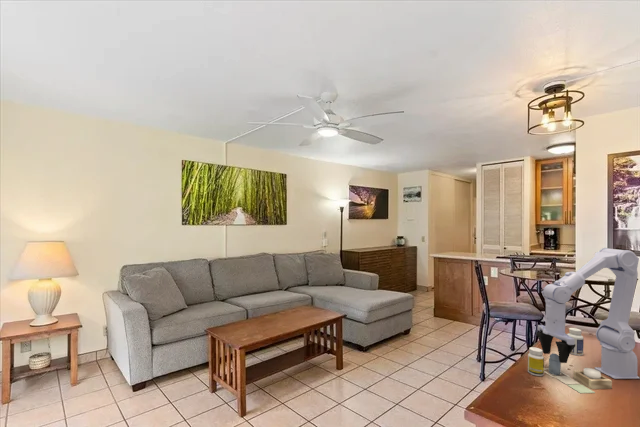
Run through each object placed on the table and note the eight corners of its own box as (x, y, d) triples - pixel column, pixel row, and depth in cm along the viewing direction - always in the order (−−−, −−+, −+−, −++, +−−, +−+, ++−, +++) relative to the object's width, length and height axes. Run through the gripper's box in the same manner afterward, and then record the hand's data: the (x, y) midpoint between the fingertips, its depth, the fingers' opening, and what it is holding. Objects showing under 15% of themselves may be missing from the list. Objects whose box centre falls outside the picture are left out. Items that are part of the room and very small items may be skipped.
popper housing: (592, 378, 114) (592, 370, 115) (611, 388, 108) (611, 380, 108) (573, 378, 114) (573, 370, 114) (591, 388, 107) (591, 380, 107)
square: (568, 377, 115) (568, 376, 115) (580, 384, 110) (580, 383, 110) (554, 377, 115) (554, 376, 115) (566, 384, 110) (566, 383, 110)
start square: (556, 368, 121) (556, 368, 121) (570, 377, 115) (570, 376, 115) (539, 369, 121) (539, 368, 121) (552, 377, 114) (552, 376, 114)
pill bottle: (582, 352, 137) (582, 328, 137) (584, 357, 133) (584, 332, 133) (566, 349, 140) (566, 326, 140) (567, 353, 135) (567, 329, 136)
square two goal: (581, 385, 109) (581, 384, 109) (595, 393, 104) (595, 392, 104) (567, 385, 109) (567, 384, 109) (580, 393, 104) (580, 392, 104)
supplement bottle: (546, 377, 114) (546, 352, 115) (531, 375, 115) (531, 351, 116) (540, 371, 119) (540, 347, 119) (525, 369, 120) (525, 346, 120)
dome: (592, 376, 113) (592, 367, 113) (604, 382, 109) (604, 373, 109) (580, 376, 113) (580, 367, 113) (591, 382, 108) (591, 374, 108)
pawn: (555, 370, 120) (555, 351, 120) (562, 375, 116) (563, 355, 116) (546, 371, 119) (546, 351, 119) (553, 375, 116) (553, 355, 116)
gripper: (530, 313, 125) (529, 349, 125) (560, 325, 111) (559, 367, 110) (548, 313, 125) (547, 349, 125) (580, 325, 111) (580, 367, 111)
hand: (554, 357), depth 118 cm, fingers open, 7 cm apart
